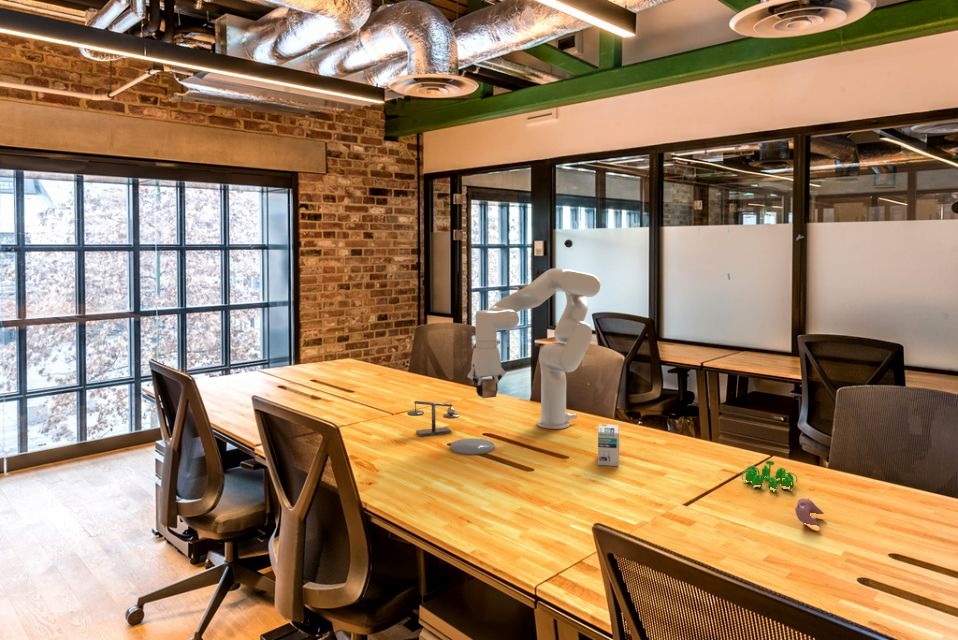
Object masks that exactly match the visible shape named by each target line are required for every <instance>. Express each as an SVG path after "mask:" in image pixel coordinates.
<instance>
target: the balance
mask: <svg viewBox="0 0 958 640" xmlns="http://www.w3.org/2000/svg"><path fill="white" fill-rule="evenodd" d="M413 403H414V410H408V411H407V412H406V413H407V415H408V416H410V417H419V416H423V415H424V414H425V413H424V411H423V410H420V409H419V410H417V405H426V406H431V428H425V429H417V430H415V431H416V432H415V433H416V434H417V435H418V436H419V437H420V436H421V437H427V436H428V437H429V436H436V435H445V434H452V430H451V429H450V427H447V426H444V427H436V426H437V425H436V423H437V422H436V417H437V416H436V414H437V413H436V406H437V407H438V406H439V407H440V406H441V407H448V408H447V410H446V412H447V413H444V414H443V415H442V417H443V418H444V419H449V420H450V419H451V420H452V419H458V418H459V417H460V414H459V413H456V410H455V407H453V404H452V403H443V402H442V403H441V402H433V401H432V402H431V401H420V400H415V401H413Z"/></svg>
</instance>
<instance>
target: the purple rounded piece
mask: <svg viewBox="0 0 958 640" xmlns="http://www.w3.org/2000/svg"><path fill="white" fill-rule="evenodd" d="M794 511H795V514H796V517H797V519H798V520H799V521H800V522H803V523H806V524H810V525H817V526H820V523H819V522H817V520H816V519H815V518H814V517H813V516H812V515H811V516H810V513H816V514H824V515H825V513H824V512H823V510H821V509H820V508H819V507H818V506H817V505H816V504H815V503H814V502H813V501H812V500H811V499H809V497H808V498H800V499H798V500H797V504H796V507H795V508H794ZM803 523H802V524H803Z"/></svg>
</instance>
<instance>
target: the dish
mask: <svg viewBox="0 0 958 640" xmlns="http://www.w3.org/2000/svg"><path fill="white" fill-rule="evenodd" d="M494 450H495V443H494V442H493V441H491V440H488V439H485V438H474V437H473V438H463V439H462V438H461V439H457V440H453V441H452V442H451V443H450V451H452V452H454V453H456V454H460V455H467V456H474V455H475V456H477V455H484V454H488V453H491V452H493V451H494Z"/></svg>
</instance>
